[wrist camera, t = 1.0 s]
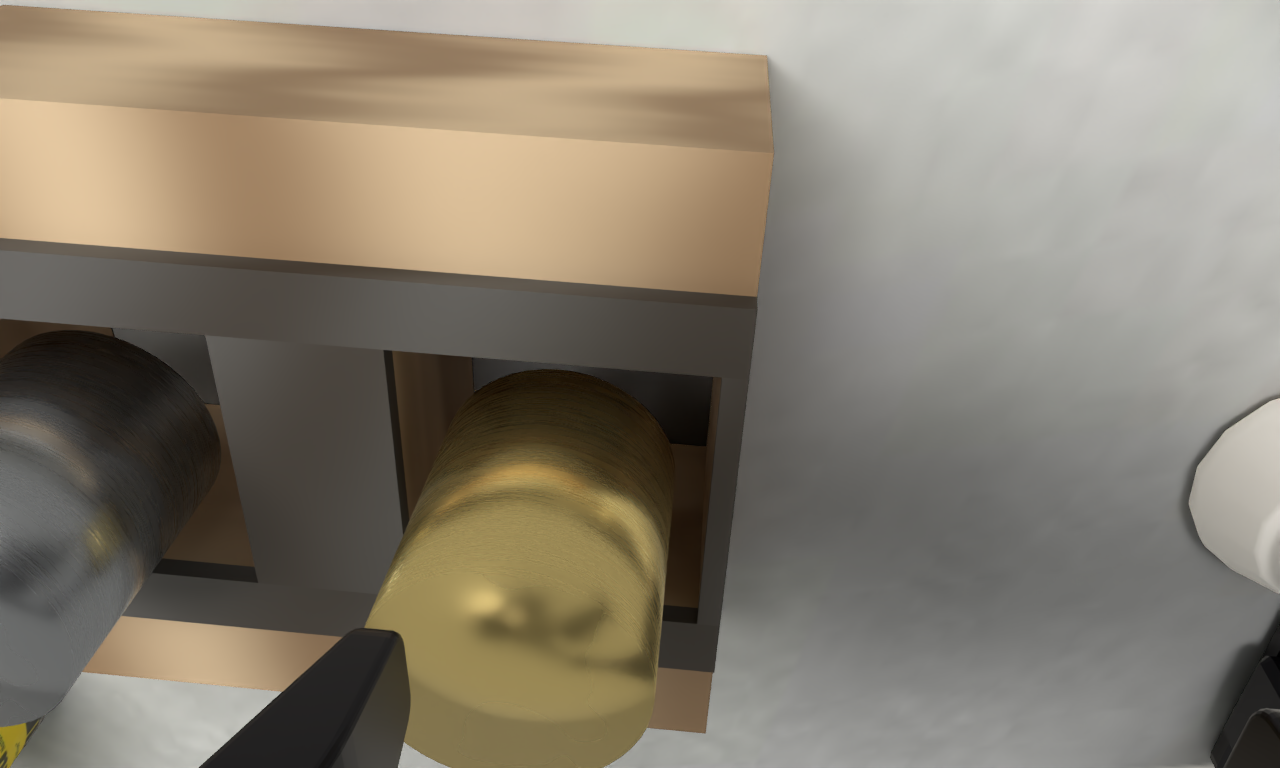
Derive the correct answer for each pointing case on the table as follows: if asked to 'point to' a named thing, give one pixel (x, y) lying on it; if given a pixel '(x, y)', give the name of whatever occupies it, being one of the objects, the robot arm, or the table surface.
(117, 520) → the steel plunger
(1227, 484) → the white jar
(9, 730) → the supplement bottle
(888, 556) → the table surface
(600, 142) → the socket board
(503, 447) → the brass plunger
